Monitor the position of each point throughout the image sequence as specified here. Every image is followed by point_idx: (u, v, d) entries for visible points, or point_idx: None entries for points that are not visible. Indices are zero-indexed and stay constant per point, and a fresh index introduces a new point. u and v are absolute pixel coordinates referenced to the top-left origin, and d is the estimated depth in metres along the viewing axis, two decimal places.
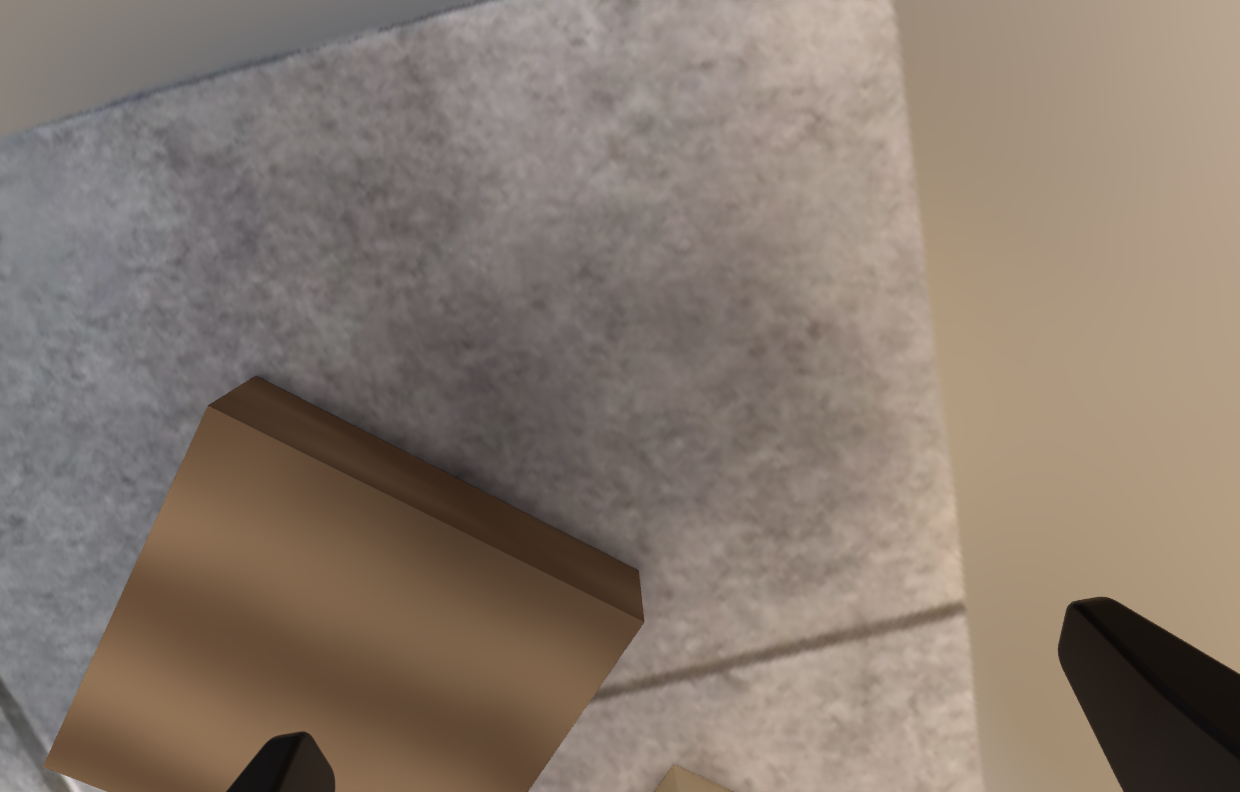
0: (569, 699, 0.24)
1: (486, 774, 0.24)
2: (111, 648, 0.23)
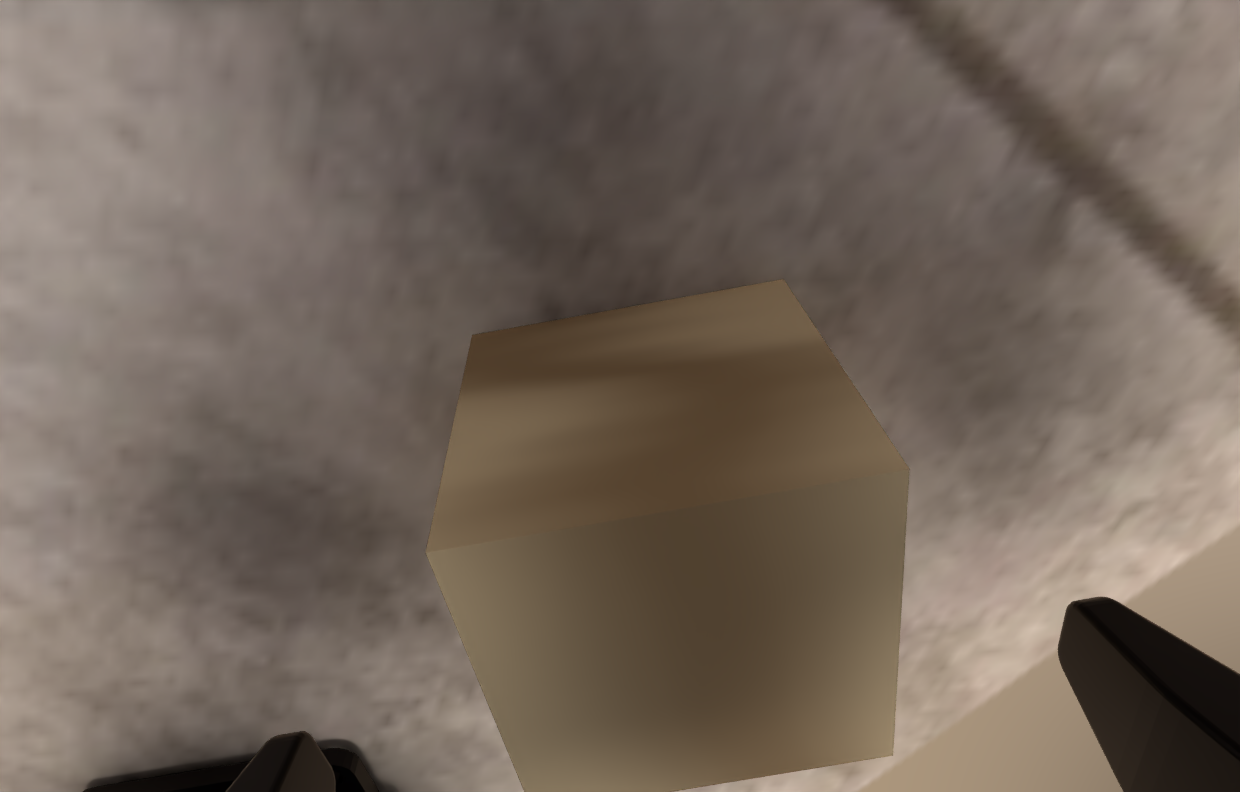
0: None
1: None
2: None
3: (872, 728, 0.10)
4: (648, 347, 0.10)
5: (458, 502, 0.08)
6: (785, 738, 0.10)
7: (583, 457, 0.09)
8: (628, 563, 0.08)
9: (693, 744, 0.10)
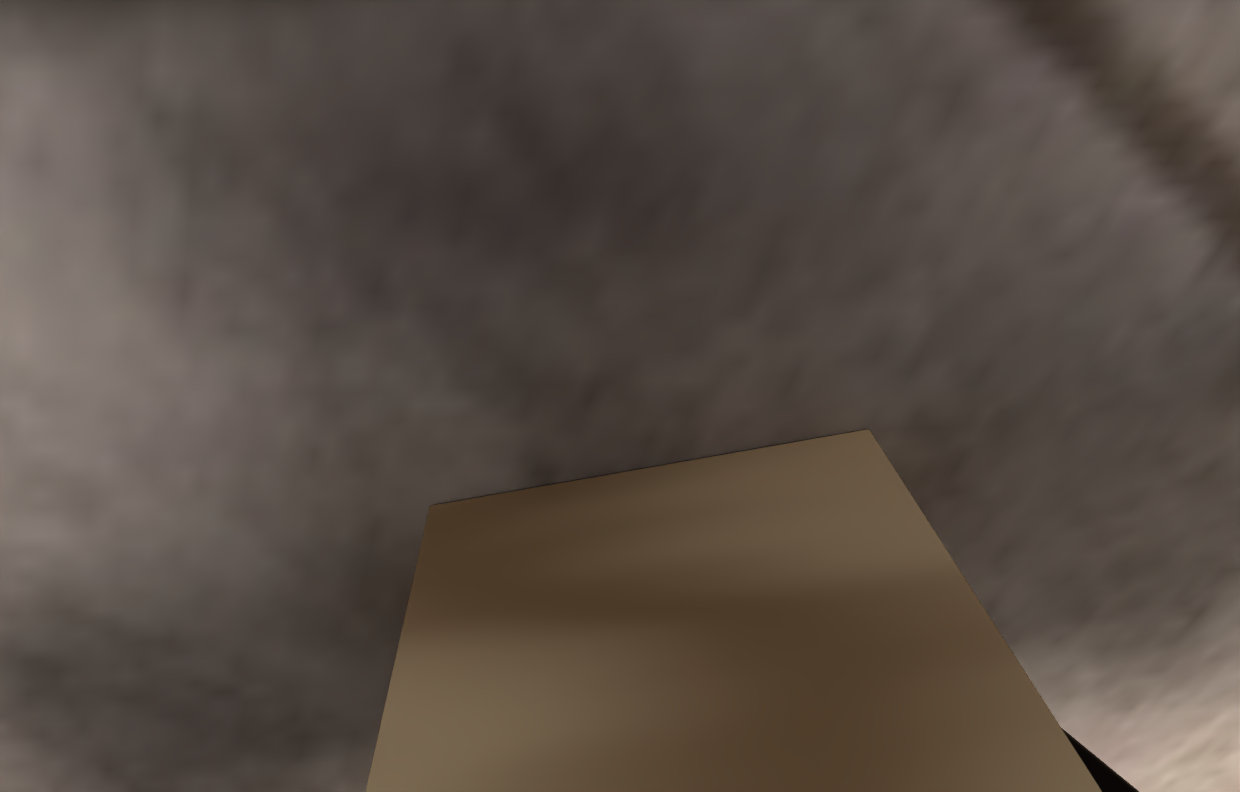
0: None
1: None
2: None
3: None
4: (685, 560, 0.07)
5: None
6: None
7: None
8: None
9: None
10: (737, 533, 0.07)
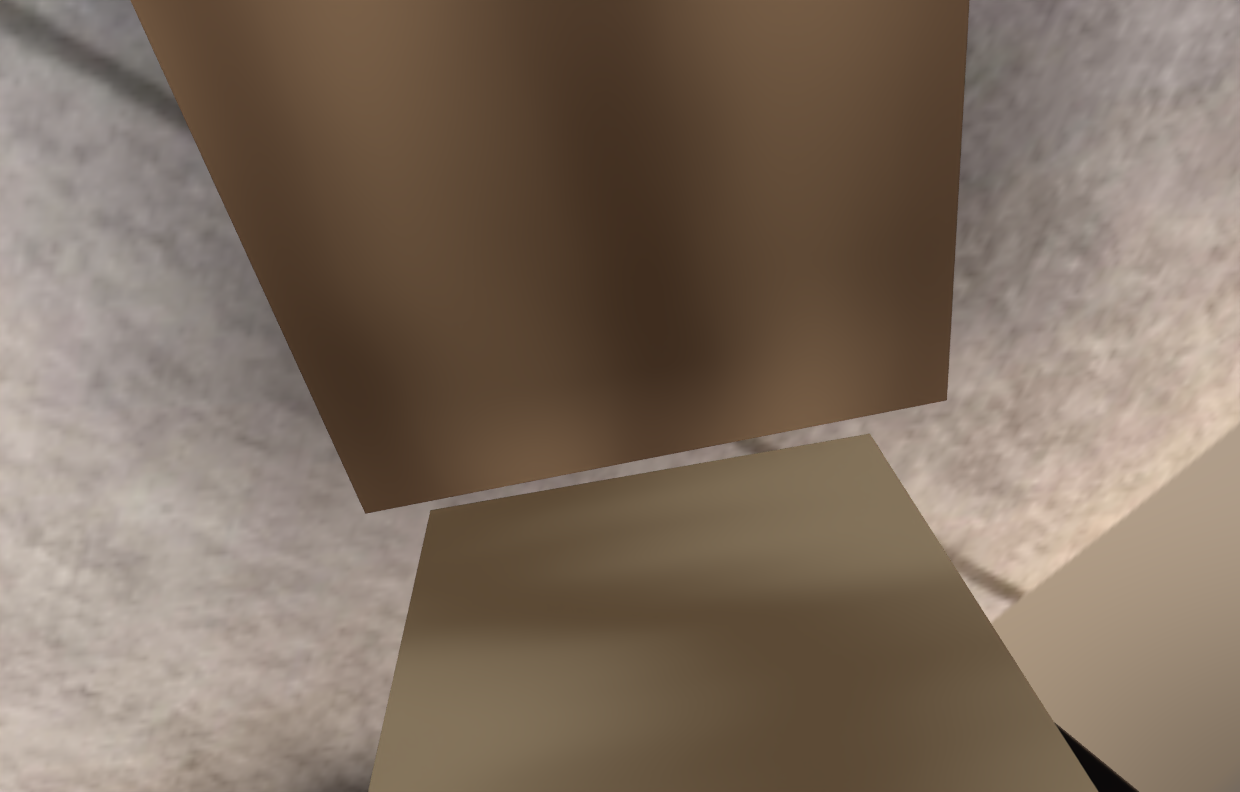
0: (793, 408, 0.17)
1: (621, 407, 0.17)
2: None
3: None
4: (685, 567, 0.07)
5: None
6: None
7: None
8: None
9: None
10: (738, 538, 0.07)
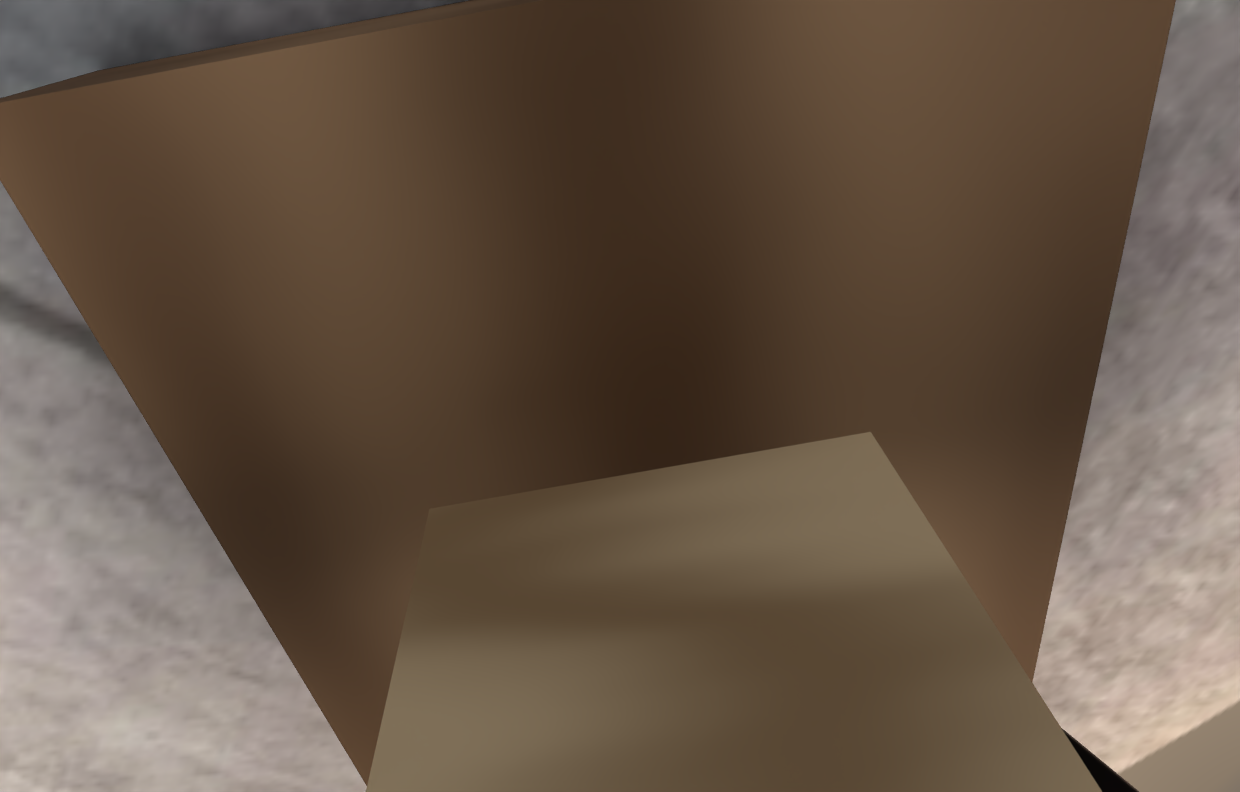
0: None
1: None
2: (424, 59, 0.08)
3: None
4: (685, 565, 0.07)
5: None
6: None
7: None
8: None
9: None
10: (738, 537, 0.07)
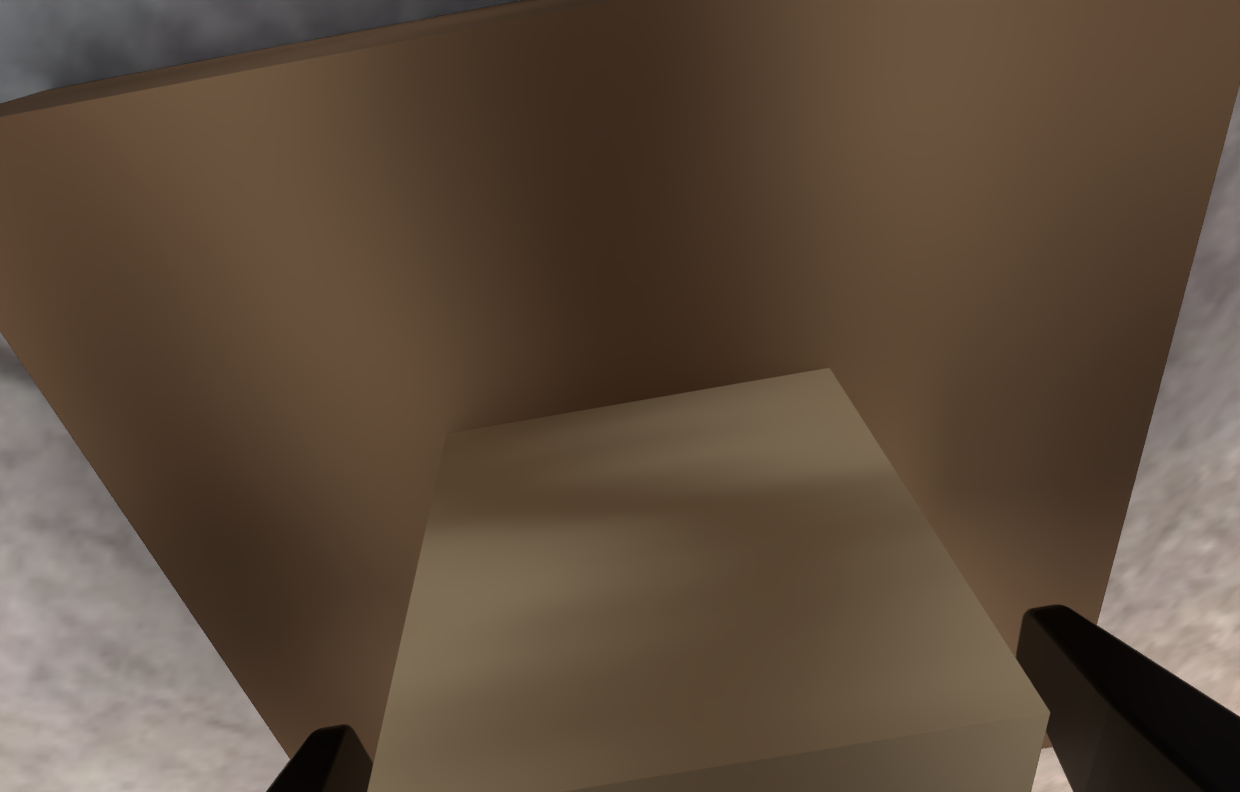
0: None
1: None
2: (404, 83, 0.07)
3: None
4: (666, 470, 0.08)
5: (412, 727, 0.06)
6: None
7: (585, 656, 0.06)
8: None
9: None
10: (712, 448, 0.08)
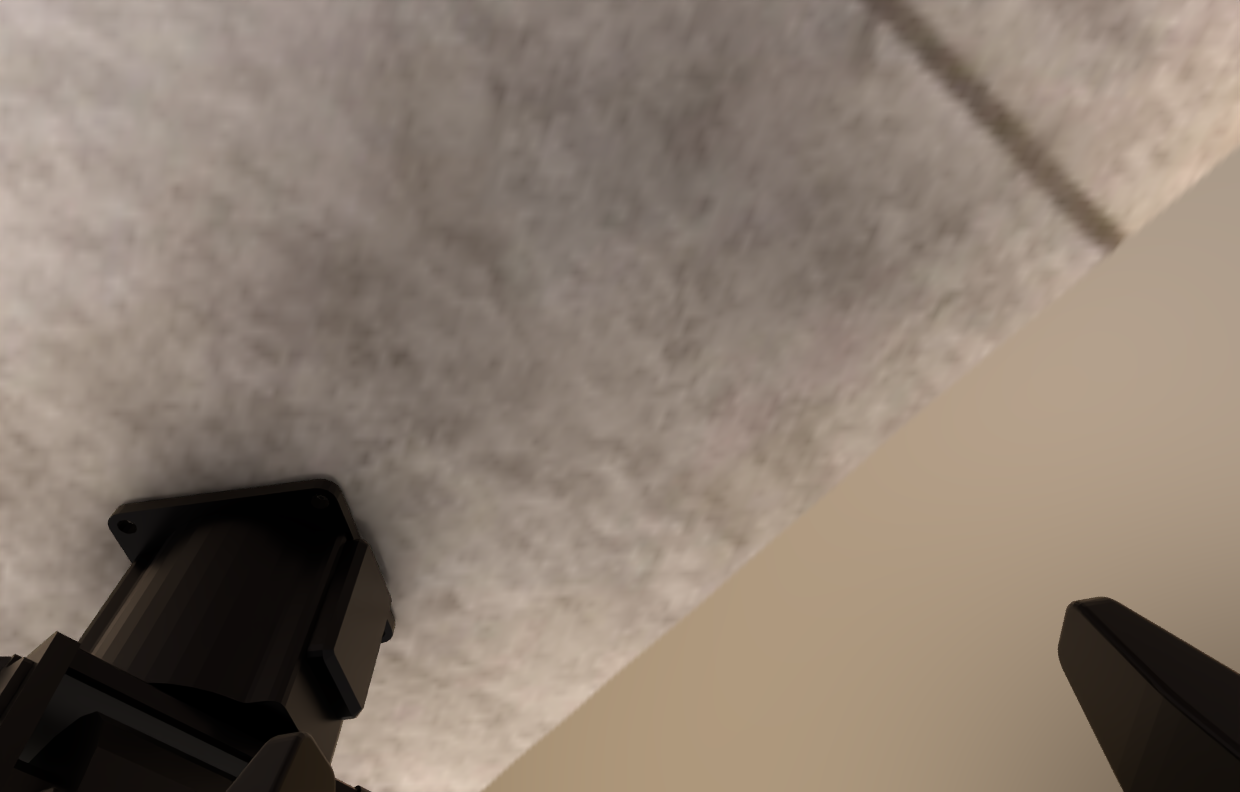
0: None
1: None
2: None
3: None
4: None
5: None
6: None
7: None
8: None
9: None
10: None
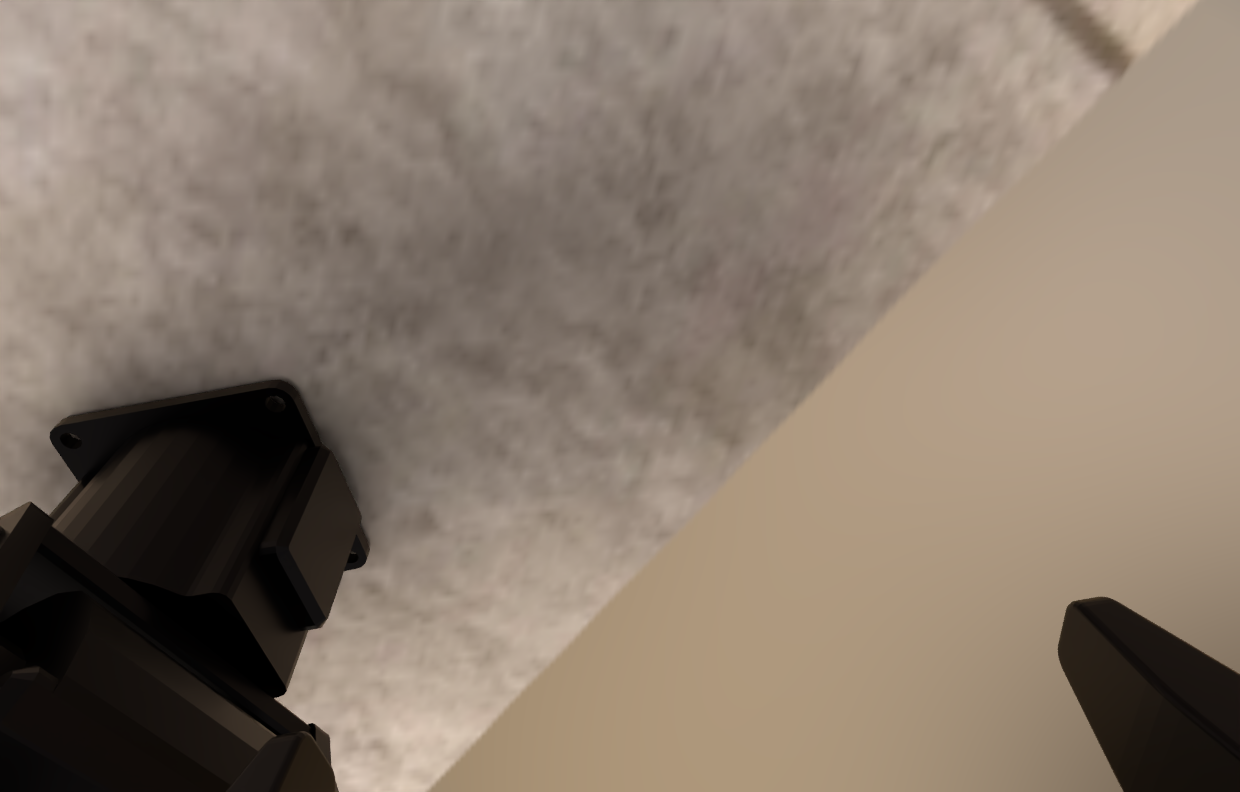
0: None
1: None
2: None
3: None
4: None
5: None
6: None
7: None
8: None
9: None
10: None
